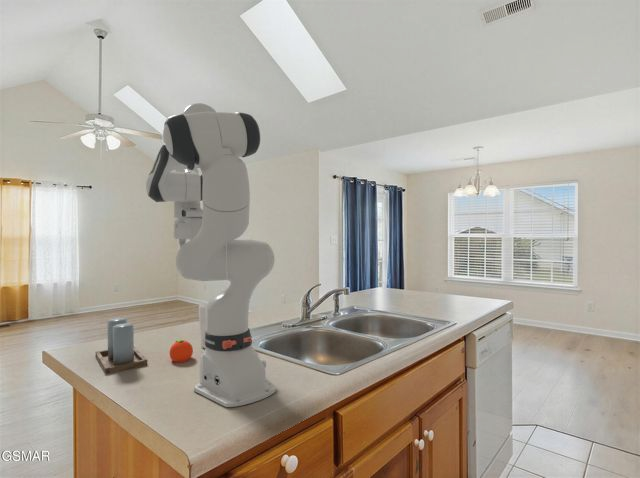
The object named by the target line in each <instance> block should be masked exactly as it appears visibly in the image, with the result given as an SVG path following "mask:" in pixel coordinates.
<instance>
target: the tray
mask: <svg viewBox="0 0 640 478" xmlns="http://www.w3.org/2000/svg"><path fill="white" fill-rule="evenodd" d="M95 359H96V360H97V362H98V363H99V365H100V367H101V368H102V371H103V372H104V374H105V375H108V374H113V373H118V372H123V371H127V370H131V369H136V368H139V367H144V366H148V359H147V358H146V357H145V356H144V355H143V354H142V353H141V352H140V350H138V348H137V347H136V346H134V362H130V363H125V364H120V365H116V366H114V365H113V360H110V359H108V349H103V350H97V351H95Z"/></svg>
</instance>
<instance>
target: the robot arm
mask: <svg viewBox="0 0 640 478" xmlns="http://www.w3.org/2000/svg"><path fill="white" fill-rule="evenodd" d="M163 126H164V127H163V131H162V137H163V139H162V140H163V144H162V145H161V147H160V149H159V151H158V152H157V153H158V154H157V155H156V157H155V161H154V164H153V166H152V168H151V171H150V173H149V174H148V176H147V178H146V182H145V184H146V185H145V190H146V193H147V196H148V197H149V198H150V199H152V201H154V202H156V203H166V202H173V218H174V223H173V238H174V239H175V240H178V243H179V249H178V252H177V253H176V257H175V267H176V269H177V270H178V273H179V274H180V276H181V277H183V279H186V280H192V281H197V282H198V281H199V282H212V281H213V282H214V281H229V282H230V284H229V287H227V288H226V289H225V290H223V291H221V292H219V293H218V294H216V295H214V296H213V297H211V299H210V300H209V301H208V302H207V303H206V304H207V307H206V313H207V331H206V332H205V346H206V348H204V351H203V353H202V354H201V356H200V359H199V373H198V376H199V377H198V383H196V384H195V385H194V387H193V391H194V392H195V393H197V394H199V395H202V396H203V397H205V398H207V399H209V400H211V401H213V402H215V403H217V404H219V405H221V406H223V407H225V408H234V407H235V408H236V407H241V406H244V405H249V404H253V403H256V402H258V401H261V400H264V399H266V398H268V397H270V396H272V395H273V394H274V393H275V392H276V391H277V389H276V386H275V385H274V384H273V383H272V382H271V381H270V379H268V378H267V376H266V375H267V374H266V368H267V362H266V360H265V359H261V358H260V357H259V353H258V352H256V350H255V348H254V346H253V339H252V338H253V336H252V333H251V330H250V328H249V313H250V312H249V309H250V303H251V298H252V296H253V293H254V290H255V289H256V287H257V286H258V285H259V284H260V282H261V281H262V280H263V279H265V278H266V277H268V276H269V274H270V273H271V271H272V270H273V268H274V265H275V254H274V251H273V249H272V246H270V245H269V243H267V242H266V241H261V240H254V239H238V238H240V237H241V236H242V235H243V234H244V233H245V232H246V230H247V229H248V227H249V224H250V200H251V199H250V198H251V196H250V195H251V191H250V181H249V173H248V169H247V165H246V164H245V162H244V160H243V159H241V158H247V157H249V156H252V155H254V154H256V153H257V152H258V150H259V148H260V143H261V132H260V128H259V125H258V122H257V121H256V119H255V118H254V117H253V116H252V115H251V114H248V113H245V112H239V111H238V112H237V111H236V112H234V113H233V112H223V111H222V112H219V111H216V110H215V109H214V108H213V107H212V106H211V105H208V104H206V103H199V102H197V103H192V104H189V105H188V106H187V107H186V108H185V109H184V110H183V112H182V113H177V114H175V115H171V116H169V117H167V118H166V120H165V122H164V125H163ZM199 170H200V172H201V173H199ZM201 202H202V208H201ZM187 240H189V241H187Z"/></svg>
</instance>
